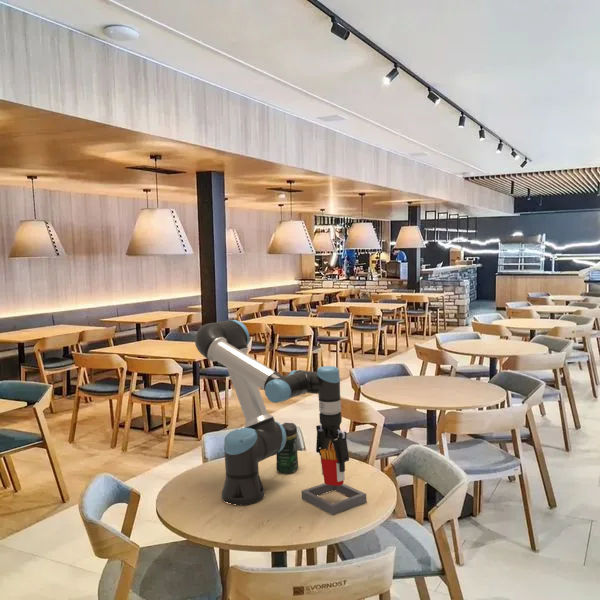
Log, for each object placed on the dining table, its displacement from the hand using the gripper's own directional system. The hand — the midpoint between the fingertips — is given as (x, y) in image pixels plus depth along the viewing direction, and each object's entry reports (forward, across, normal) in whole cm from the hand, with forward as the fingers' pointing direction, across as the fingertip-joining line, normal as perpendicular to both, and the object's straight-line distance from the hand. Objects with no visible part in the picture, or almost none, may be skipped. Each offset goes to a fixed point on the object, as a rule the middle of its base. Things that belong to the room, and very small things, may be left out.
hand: (333, 477), depth 199 cm
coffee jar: (+8, -35, +5) cm, 37 cm away
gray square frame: (+8, 0, 0) cm, 8 cm away
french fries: (+2, 0, 0) cm, 2 cm away
